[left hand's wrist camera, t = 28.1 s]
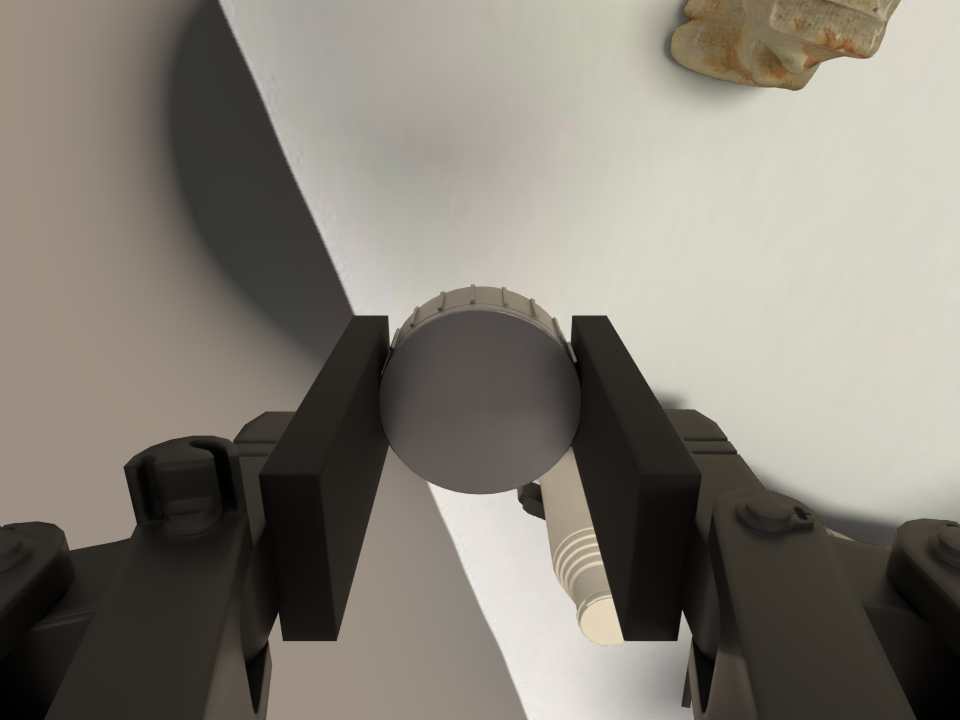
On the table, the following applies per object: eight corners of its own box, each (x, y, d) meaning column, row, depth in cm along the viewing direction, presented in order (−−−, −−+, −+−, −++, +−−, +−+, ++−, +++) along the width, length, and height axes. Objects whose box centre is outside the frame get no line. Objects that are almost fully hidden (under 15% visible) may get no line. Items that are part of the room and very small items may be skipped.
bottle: (605, 432, 49) (678, 624, 31) (559, 468, 51) (603, 673, 32) (566, 392, 48) (618, 567, 30) (519, 430, 49) (542, 621, 31)
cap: (426, 253, 13) (419, 273, 12) (606, 327, 14) (622, 355, 12) (361, 420, 15) (347, 456, 13) (527, 480, 15) (532, 522, 14)
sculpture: (697, -35, 38) (824, -117, 24) (803, 14, 39) (986, -37, 25) (652, 67, 40) (746, 46, 26) (754, 111, 41) (898, 114, 27)
